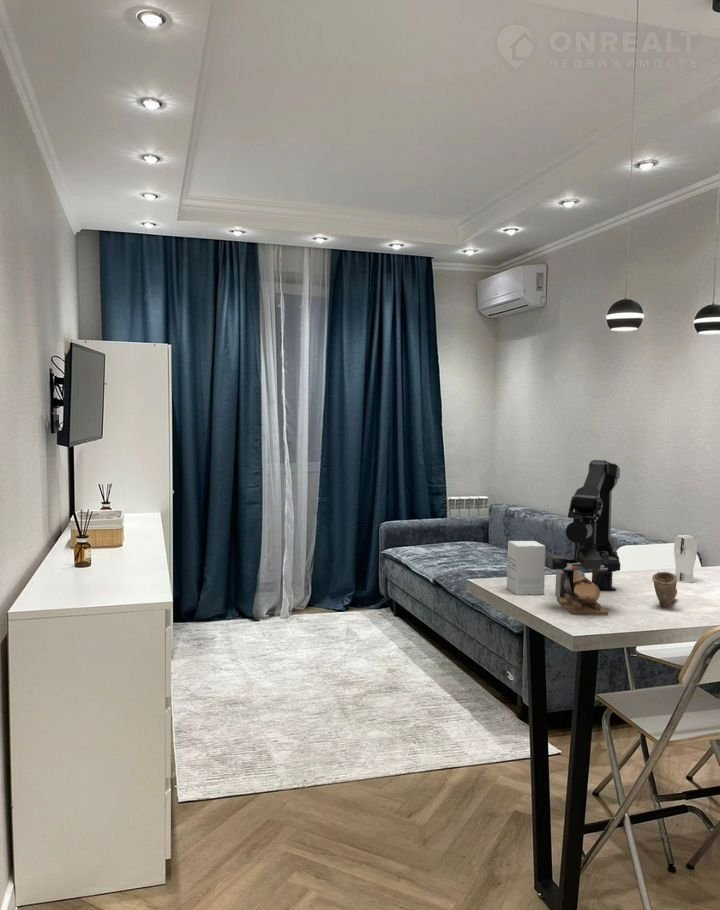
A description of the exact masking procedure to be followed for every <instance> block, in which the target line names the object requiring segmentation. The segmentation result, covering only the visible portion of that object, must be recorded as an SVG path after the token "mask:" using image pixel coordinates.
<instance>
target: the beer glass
mask: <svg viewBox="0 0 720 910" xmlns="http://www.w3.org/2000/svg"><path fill="white" fill-rule="evenodd" d="M697 553H698V537H697V536H694V535H688V534H675V536H674V546H673V557H674V563H675V572H674V575H676V577H677V583H678V582H679V583H684V582H685V583H687V584H690V582H692V583H694V582H695V579H694V568H695V563H696V560H697V559H696V558H697Z"/></svg>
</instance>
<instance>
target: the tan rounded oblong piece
mask: <svg viewBox="0 0 720 910" xmlns="http://www.w3.org/2000/svg"><path fill="white" fill-rule="evenodd" d="M573 584H574V590H573V593H574V594H575V595H576V596H578V597H579V598H580V599H581V600H582V601H584V602H585V603H594V602H596V601H597V602H598V600H599V598H600V596H601V590H599V588H598V586H597V585H595V584H594V583H593V582H592V580H590V579H588V578H587V577H586V576H585V577H584V576H583V575H581V574H579V573H574V574H573ZM567 587H568V589H569V590H570V588H569V585H568V582H567Z"/></svg>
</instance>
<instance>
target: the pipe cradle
mask: <svg viewBox="0 0 720 910" xmlns="http://www.w3.org/2000/svg"><path fill="white" fill-rule="evenodd" d="M556 601H557V603H558V604H560V605H561V606H562V607H563V609H565V611H567V612H568V613H569V614H570V615H579V616H583V615H584V616H609V611H608V610H607V609H606V608H604V607H603V605H602V606H601V604H600V603H599V602H598V600H597V601H596V602H594V603H585V602H584V601H582V600H581V599H580V598H574V597H573V596H571V595H570V594H569V593H565V596H564V598H558V597H557V596H556Z"/></svg>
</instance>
